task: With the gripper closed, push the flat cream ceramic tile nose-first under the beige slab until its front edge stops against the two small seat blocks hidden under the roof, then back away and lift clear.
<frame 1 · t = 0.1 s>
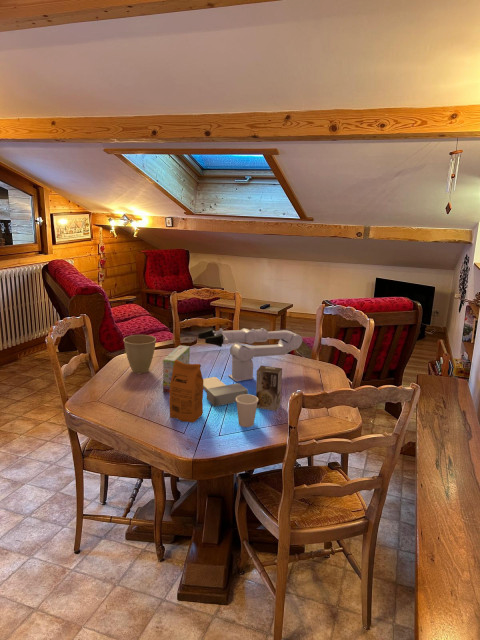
hand: (202, 338, 201), 22 cm above the table, tool horizontal, fingers open, 7 cm apart
tile: (212, 388, 204), on the table
plant pot: (140, 371, 220), on the table
dixie cup: (246, 424, 172), on the table
beige slab: (227, 399, 192), on the table
coffee package: (186, 416, 176), on the table
snack box: (177, 384, 206), on the table
coffee box: (268, 407, 186), on the table
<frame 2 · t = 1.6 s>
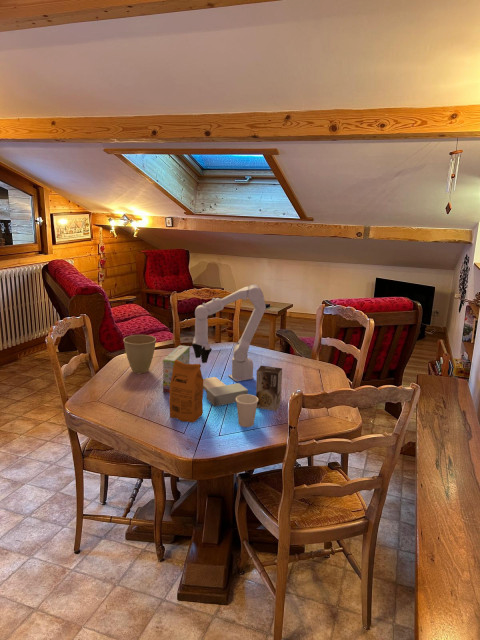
hand: (201, 360, 212), 8 cm above the table, tool pointing down, fingers open, 7 cm apart
nothing on the table moved.
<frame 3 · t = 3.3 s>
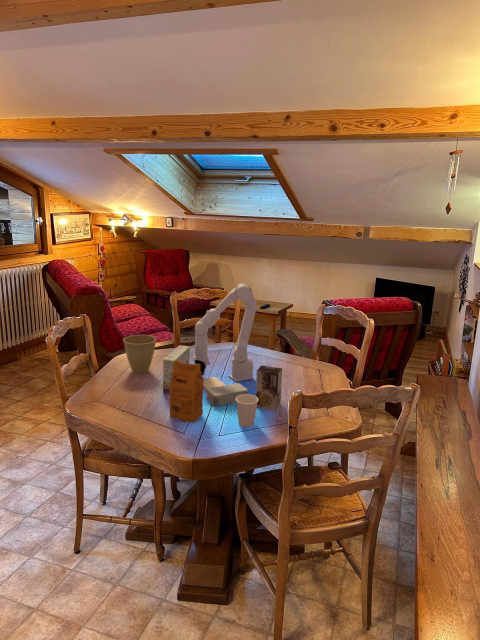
hand: (201, 375, 214), 1 cm above the table, tool pointing down, fingers closed
nothing on the table moved.
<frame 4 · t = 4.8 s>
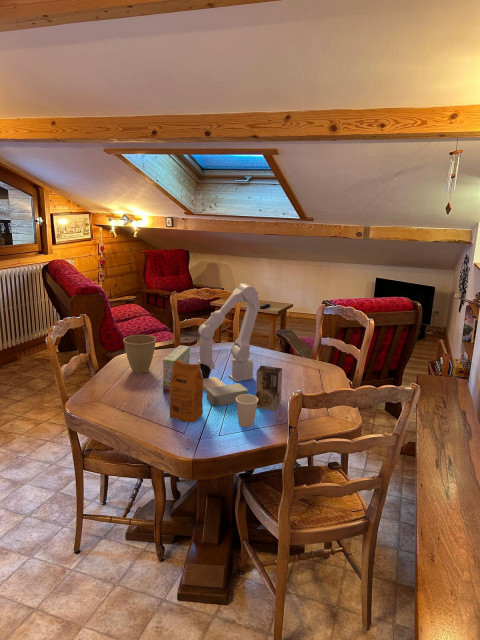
hand: (205, 379, 210), 1 cm above the table, tool pointing down, fingers closed
tile: (212, 387, 204), on the table, touching gripper
everything else where it was.
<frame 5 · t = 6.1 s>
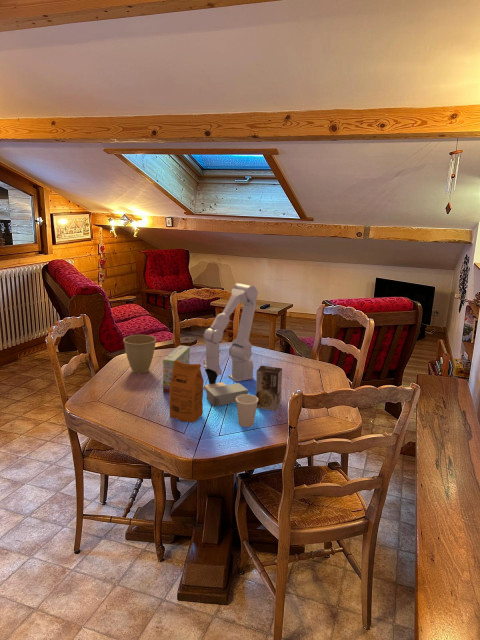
hand: (212, 384, 204), 1 cm above the table, tool pointing down, fingers closed
tile: (219, 393, 198), on the table, touching gripper
everything else where it was.
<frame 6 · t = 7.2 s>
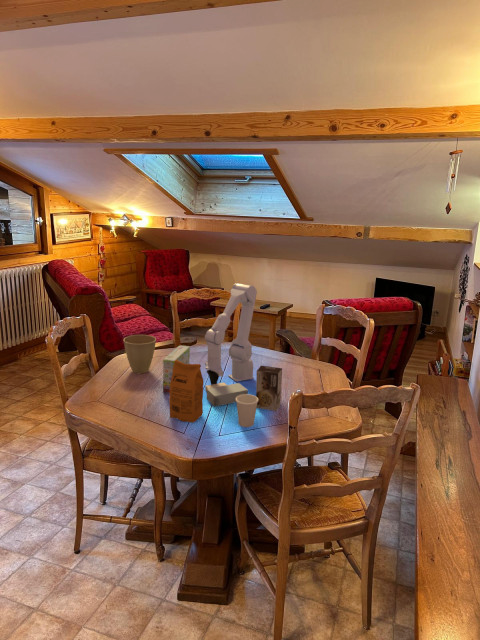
hand: (213, 385, 203), 1 cm above the table, tool pointing down, fingers closed
tile: (221, 394, 197), on the table, touching gripper, beige slab
everything else where it was.
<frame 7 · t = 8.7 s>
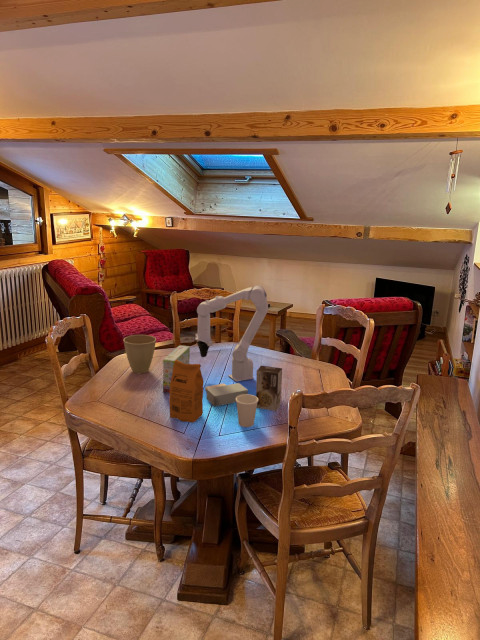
hand: (203, 356, 214), 9 cm above the table, tool pointing down, fingers closed
tile: (221, 395, 197), on the table
everything else where it was.
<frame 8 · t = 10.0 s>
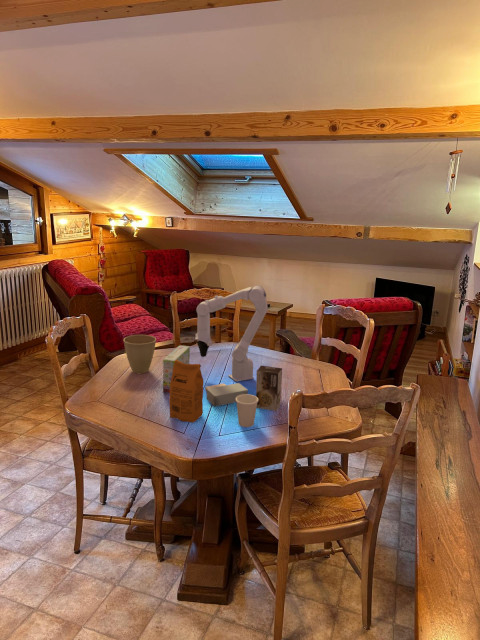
hand: (203, 356, 215), 9 cm above the table, tool pointing down, fingers closed
nothing on the table moved.
at the end: tile inside the target area (0.2 cm from its centre), on the table; tile tilted 0° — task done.
